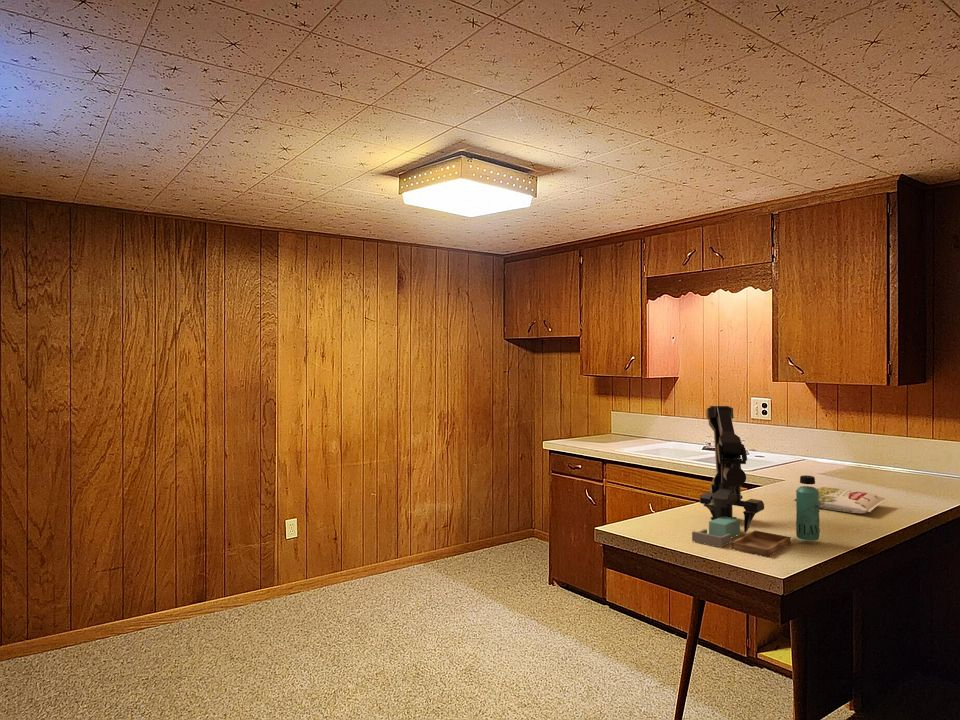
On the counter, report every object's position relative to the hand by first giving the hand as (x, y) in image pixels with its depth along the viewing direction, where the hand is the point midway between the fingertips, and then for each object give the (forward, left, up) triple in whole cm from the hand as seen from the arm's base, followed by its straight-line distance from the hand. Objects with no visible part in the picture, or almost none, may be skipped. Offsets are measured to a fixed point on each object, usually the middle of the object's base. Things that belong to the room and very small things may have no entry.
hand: (731, 529), depth 206 cm
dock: (+12, 0, -1) cm, 13 cm away
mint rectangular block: (+4, 0, -2) cm, 4 cm away
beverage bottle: (-6, +21, -2) cm, 22 cm away
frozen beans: (-57, +14, -2) cm, 58 cm away
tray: (+7, +13, -1) cm, 15 cm away
